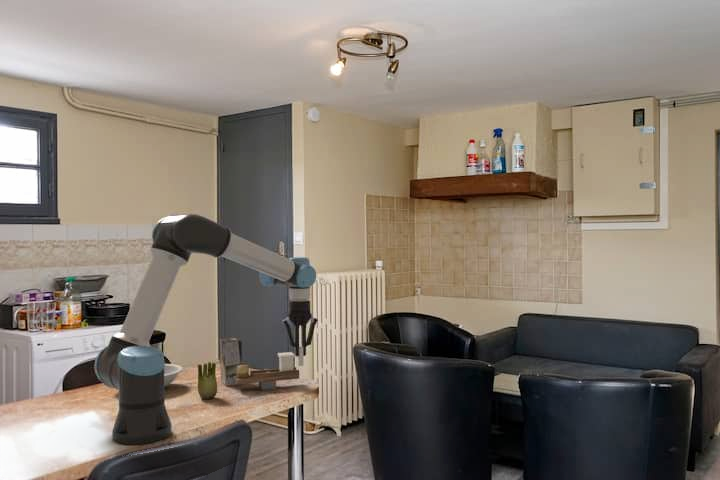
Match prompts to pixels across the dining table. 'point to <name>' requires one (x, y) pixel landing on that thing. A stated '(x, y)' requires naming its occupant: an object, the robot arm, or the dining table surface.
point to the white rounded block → (286, 361)
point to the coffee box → (230, 359)
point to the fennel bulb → (207, 381)
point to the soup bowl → (171, 373)
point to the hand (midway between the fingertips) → (300, 365)
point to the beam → (264, 376)
